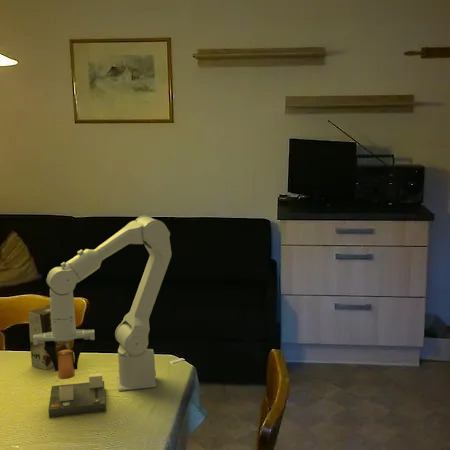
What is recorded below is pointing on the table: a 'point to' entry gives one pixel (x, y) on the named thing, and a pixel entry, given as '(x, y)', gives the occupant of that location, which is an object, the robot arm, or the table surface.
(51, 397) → the breaker panel
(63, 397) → the block
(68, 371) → the cap
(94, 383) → the block
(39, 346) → the coffee box
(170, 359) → the table surface
